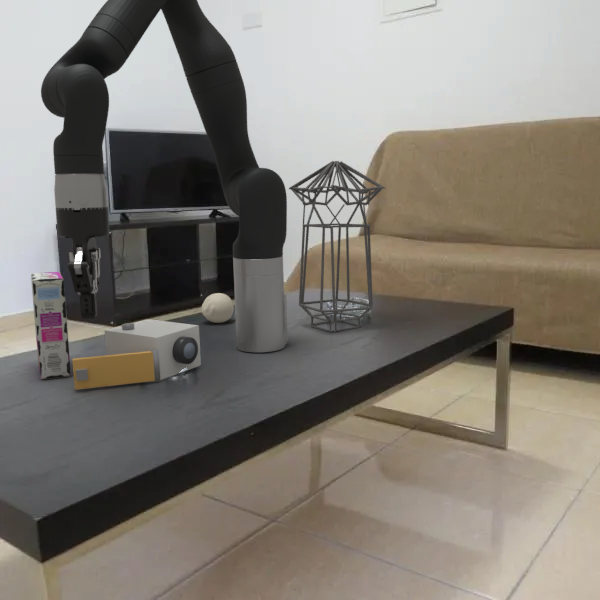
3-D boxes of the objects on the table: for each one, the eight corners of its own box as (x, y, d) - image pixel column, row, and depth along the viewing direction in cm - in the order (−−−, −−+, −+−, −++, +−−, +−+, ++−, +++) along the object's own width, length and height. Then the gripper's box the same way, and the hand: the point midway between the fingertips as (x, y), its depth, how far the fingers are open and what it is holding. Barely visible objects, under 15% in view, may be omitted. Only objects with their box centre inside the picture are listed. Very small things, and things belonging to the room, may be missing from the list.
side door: (160, 379, 103) (158, 348, 102) (161, 382, 101) (159, 351, 100) (75, 388, 99) (72, 357, 98) (75, 392, 98) (72, 359, 97)
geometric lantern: (286, 325, 142) (284, 162, 137) (346, 318, 150) (346, 163, 144) (326, 337, 128) (325, 157, 123) (388, 329, 136) (390, 159, 131)
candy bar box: (73, 376, 106) (64, 278, 103) (40, 381, 104) (30, 280, 102) (68, 360, 116) (60, 270, 114) (38, 364, 115) (29, 272, 112)
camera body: (150, 356, 118) (147, 314, 116) (208, 366, 110) (206, 321, 109) (107, 370, 109) (103, 325, 108) (167, 382, 102) (164, 333, 101)
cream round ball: (195, 323, 146) (194, 294, 145) (221, 318, 151) (220, 290, 150) (213, 327, 141) (212, 297, 140) (240, 322, 146) (238, 292, 145)
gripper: (66, 204, 104) (73, 310, 107) (44, 206, 91) (53, 327, 94) (114, 203, 105) (120, 309, 108) (99, 205, 92) (107, 325, 95)
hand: (89, 317), depth 101 cm, fingers closed
